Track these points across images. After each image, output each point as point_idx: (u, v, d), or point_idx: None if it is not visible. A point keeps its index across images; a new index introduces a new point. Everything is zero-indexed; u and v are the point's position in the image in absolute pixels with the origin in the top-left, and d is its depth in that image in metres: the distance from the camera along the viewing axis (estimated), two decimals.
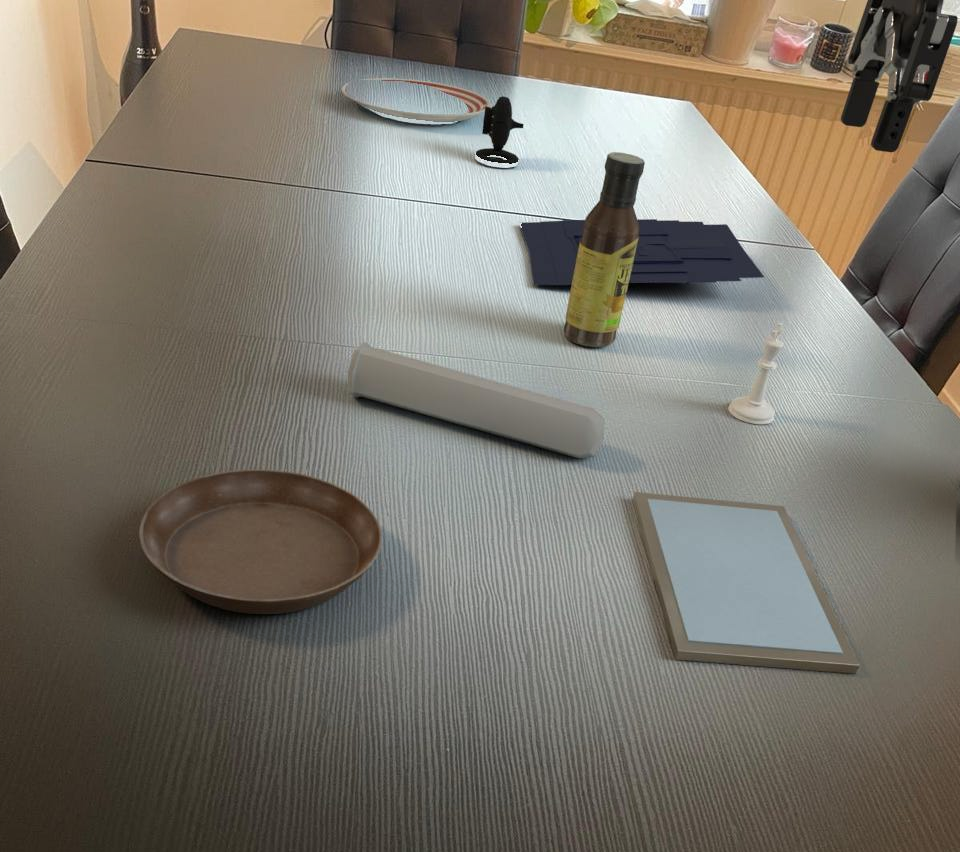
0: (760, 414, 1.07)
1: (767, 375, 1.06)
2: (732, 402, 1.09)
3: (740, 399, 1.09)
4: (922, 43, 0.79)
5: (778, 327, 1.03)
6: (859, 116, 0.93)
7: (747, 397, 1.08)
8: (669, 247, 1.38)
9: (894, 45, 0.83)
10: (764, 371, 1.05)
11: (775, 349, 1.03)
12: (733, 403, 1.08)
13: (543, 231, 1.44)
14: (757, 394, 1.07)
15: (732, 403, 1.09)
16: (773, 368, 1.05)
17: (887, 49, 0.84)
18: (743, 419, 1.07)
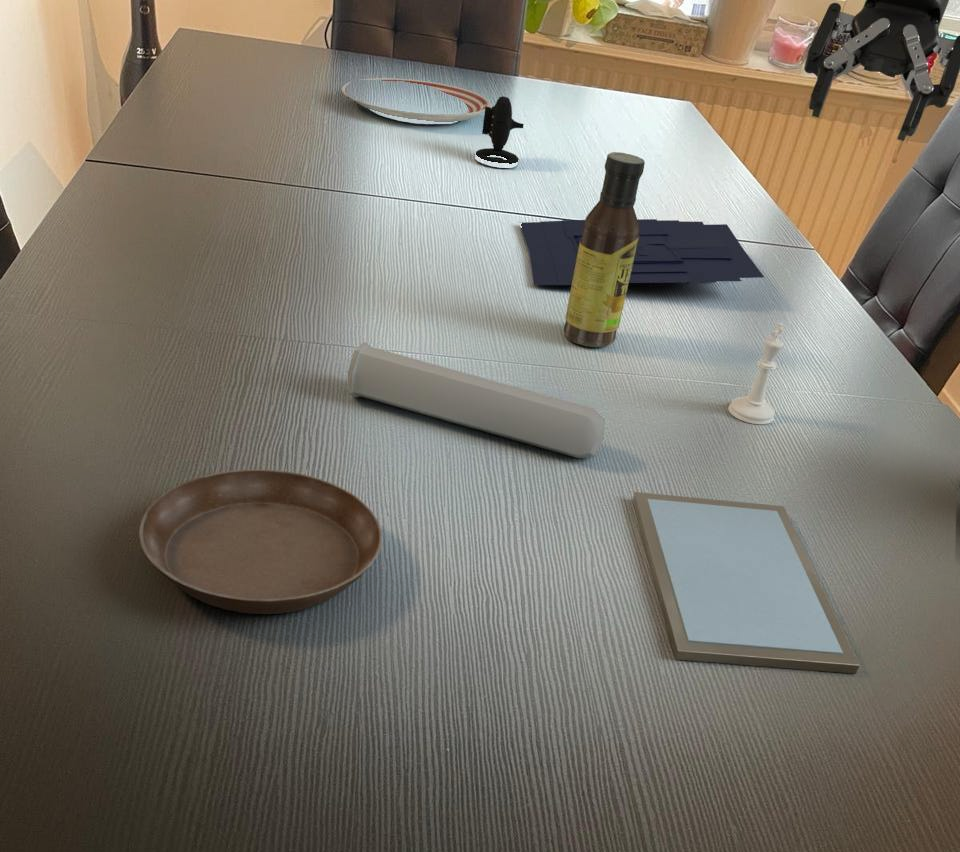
0: (760, 414, 1.07)
1: (767, 375, 1.06)
2: (732, 402, 1.09)
3: (740, 399, 1.09)
4: None
5: (778, 327, 1.03)
6: (902, 125, 0.98)
7: (747, 397, 1.08)
8: (669, 247, 1.38)
9: None
10: (764, 371, 1.05)
11: (775, 349, 1.03)
12: (733, 403, 1.08)
13: (543, 231, 1.44)
14: (757, 394, 1.07)
15: (732, 403, 1.09)
16: (773, 368, 1.05)
17: None
18: (743, 419, 1.07)
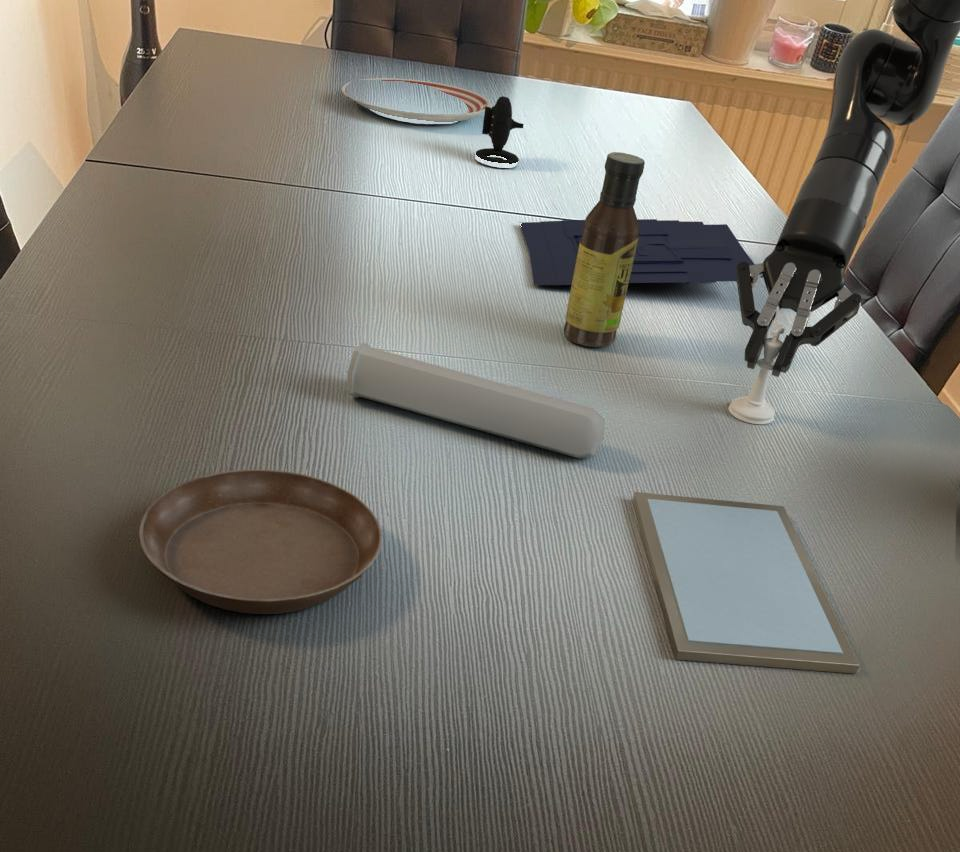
0: (760, 414, 1.07)
1: (767, 375, 1.06)
2: (732, 402, 1.09)
3: (740, 399, 1.09)
4: (738, 291, 1.07)
5: (778, 327, 1.03)
6: None
7: (747, 397, 1.08)
8: (669, 247, 1.38)
9: None
10: (764, 371, 1.05)
11: (775, 349, 1.03)
12: (733, 403, 1.08)
13: (543, 231, 1.44)
14: (757, 394, 1.07)
15: (732, 403, 1.09)
16: None
17: None
18: (743, 419, 1.07)
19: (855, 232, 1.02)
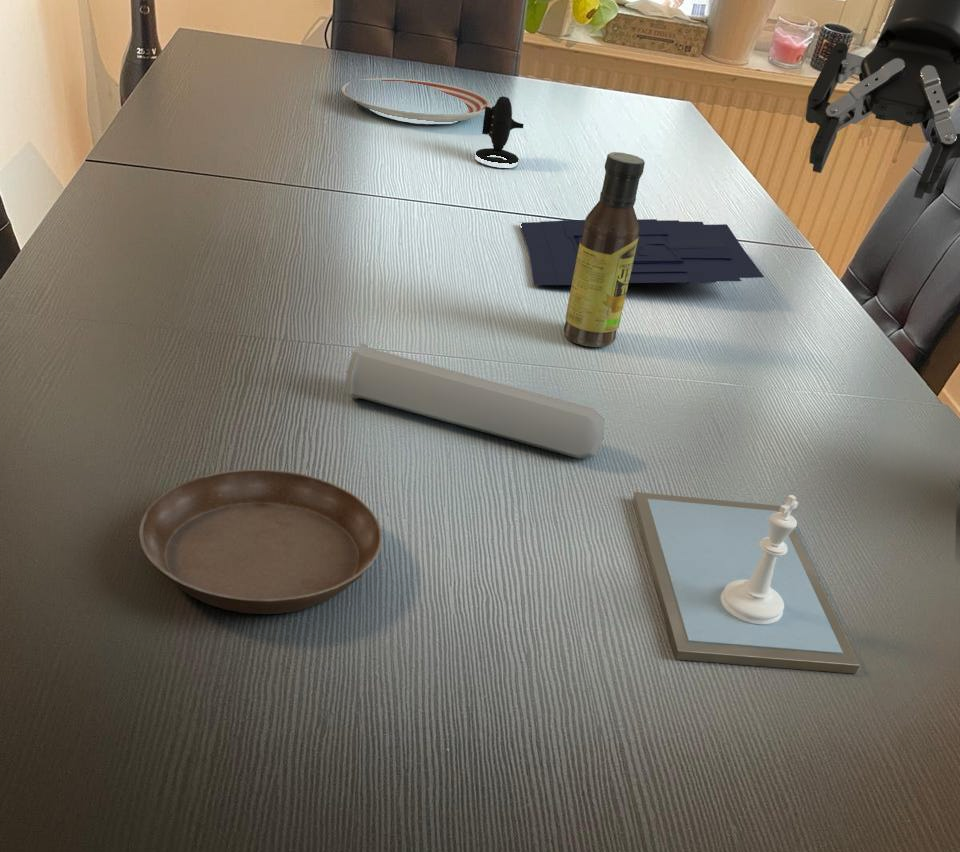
0: (763, 612, 0.78)
1: (774, 560, 0.77)
2: (726, 590, 0.80)
3: (737, 587, 0.80)
4: None
5: (789, 501, 0.74)
6: None
7: (746, 586, 0.79)
8: (669, 247, 1.38)
9: None
10: (770, 555, 0.76)
11: (785, 530, 0.74)
12: (727, 592, 0.79)
13: (543, 231, 1.44)
14: (760, 584, 0.78)
15: (726, 592, 0.80)
16: (782, 553, 0.76)
17: None
18: (741, 617, 0.78)
19: None
